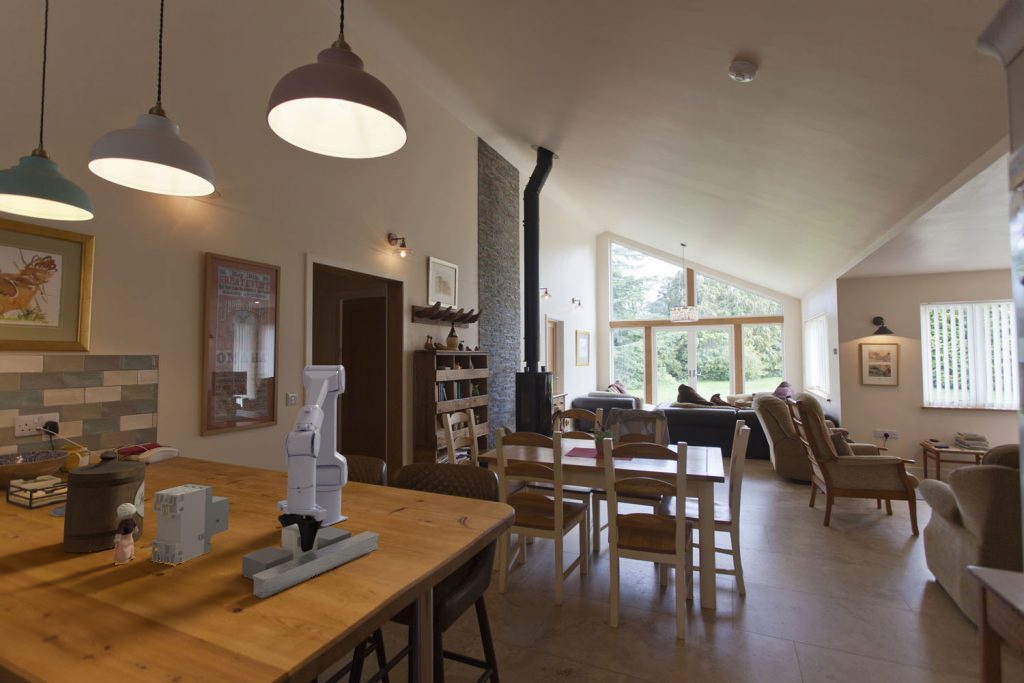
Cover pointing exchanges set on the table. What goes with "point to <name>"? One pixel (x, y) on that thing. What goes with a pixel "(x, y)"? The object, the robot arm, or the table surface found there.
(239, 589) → the table surface
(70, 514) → the wooden container
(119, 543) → the grandmother figurine
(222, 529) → the circuit breaker
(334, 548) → the din rail
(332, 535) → the mounted modules
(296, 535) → the block
